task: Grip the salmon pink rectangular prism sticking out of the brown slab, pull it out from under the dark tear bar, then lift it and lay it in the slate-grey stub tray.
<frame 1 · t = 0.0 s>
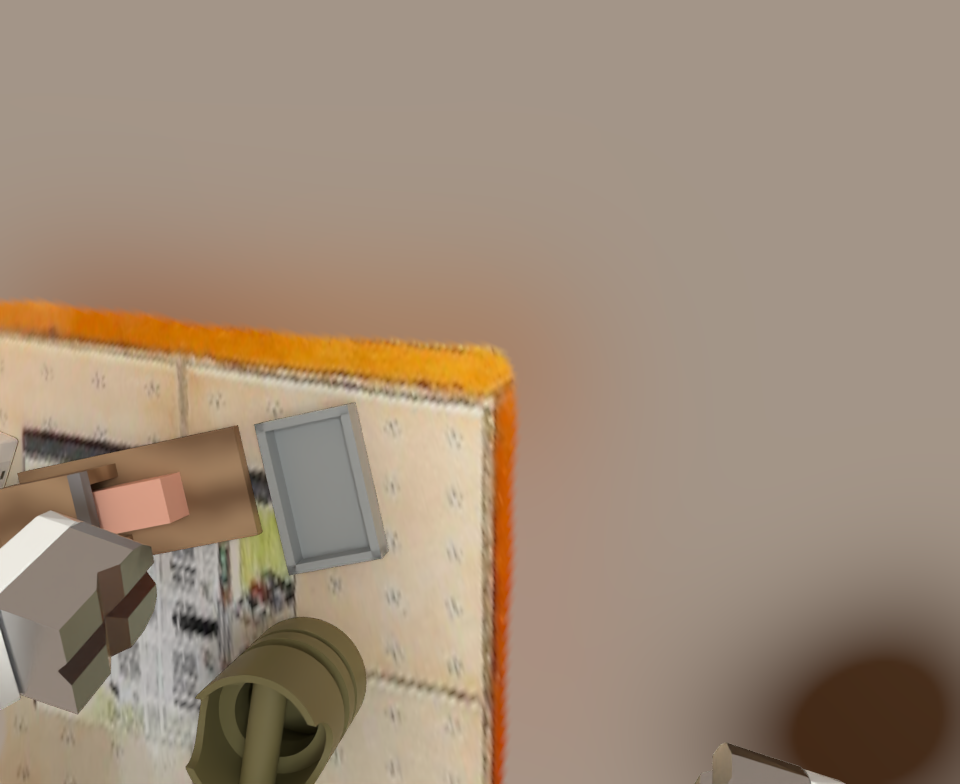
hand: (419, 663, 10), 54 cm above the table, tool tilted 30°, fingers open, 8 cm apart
piston: (307, 676, 69), on the table
salmon pink rectangular prism: (135, 503, 69), point 1 cm above the table, touching brown slab
brown slab: (141, 501, 70), on the table
tray: (326, 485, 67), on the table
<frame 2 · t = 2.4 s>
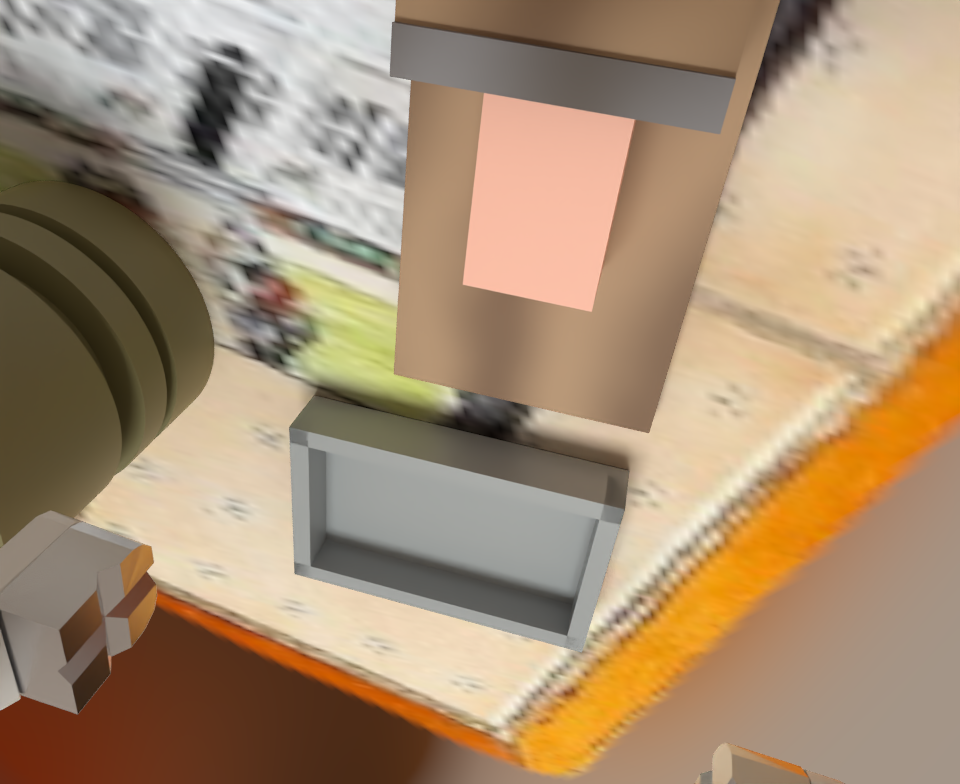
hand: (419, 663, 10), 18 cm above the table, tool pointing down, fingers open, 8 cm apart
piston: (97, 308, 33), on the table
salmon pink rectangular prism: (570, 104, 22), point 1 cm above the table, touching brown slab
brown slab: (574, 97, 23), on the table
tray: (457, 508, 34), on the table
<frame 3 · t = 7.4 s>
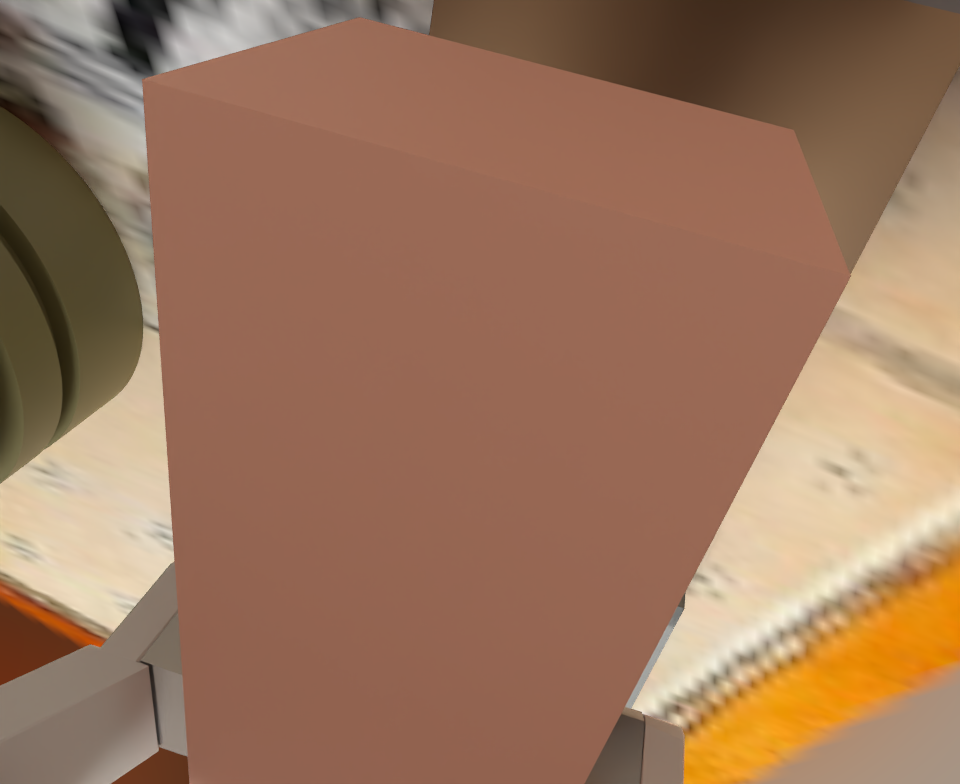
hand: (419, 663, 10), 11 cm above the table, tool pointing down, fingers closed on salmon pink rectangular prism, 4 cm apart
salmon pink rectangular prism: (469, 484, 9), point 10 cm above the table, touching gripper
brown slab: (690, 0, 15), on the table
tray: (448, 568, 25), on the table
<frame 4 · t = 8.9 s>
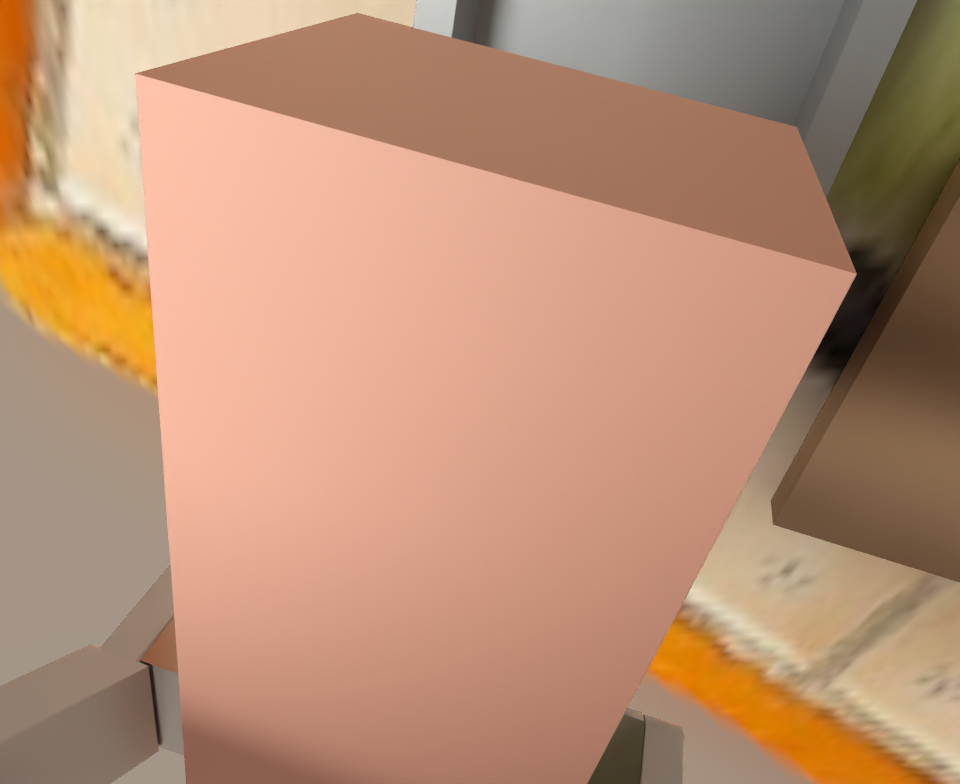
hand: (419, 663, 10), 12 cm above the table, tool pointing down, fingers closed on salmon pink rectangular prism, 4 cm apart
salmon pink rectangular prism: (468, 485, 9), point 11 cm above the table, touching gripper
tray: (596, 204, 18), on the table
when the fingers open (3 cm above the table, at t = 10.0 s): salmon pink rectangular prism drops 2 cm, resting on tray.
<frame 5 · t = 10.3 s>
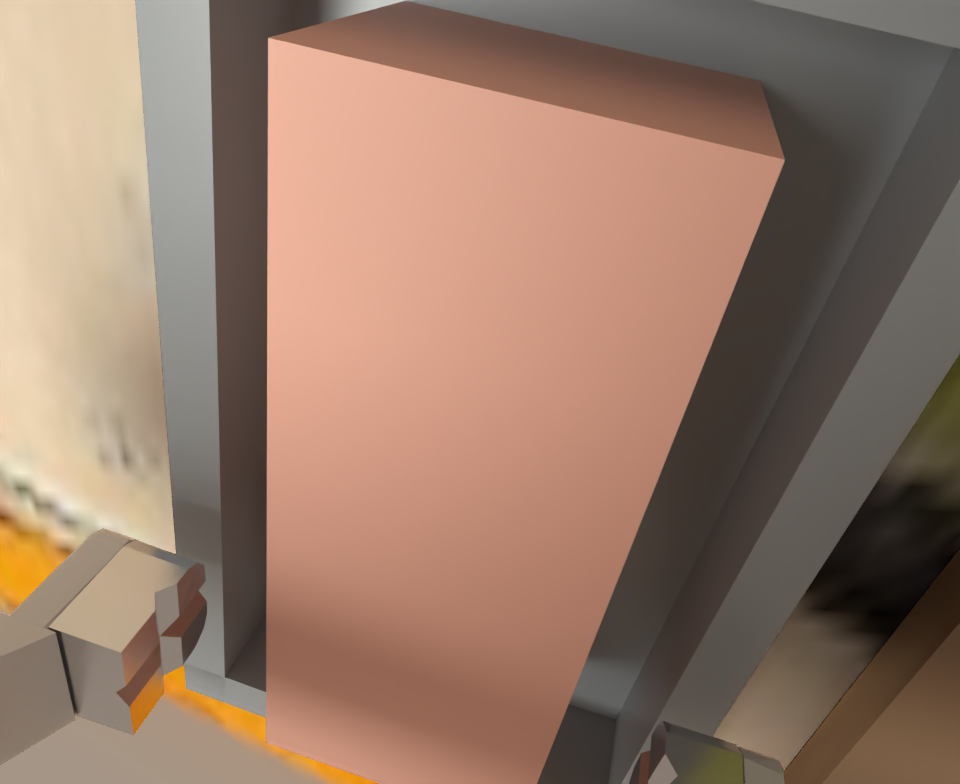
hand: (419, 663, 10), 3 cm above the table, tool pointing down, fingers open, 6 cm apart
salmon pink rectangular prism: (497, 405, 11), point 1 cm above the table, touching tray
tray: (508, 393, 12), on the table
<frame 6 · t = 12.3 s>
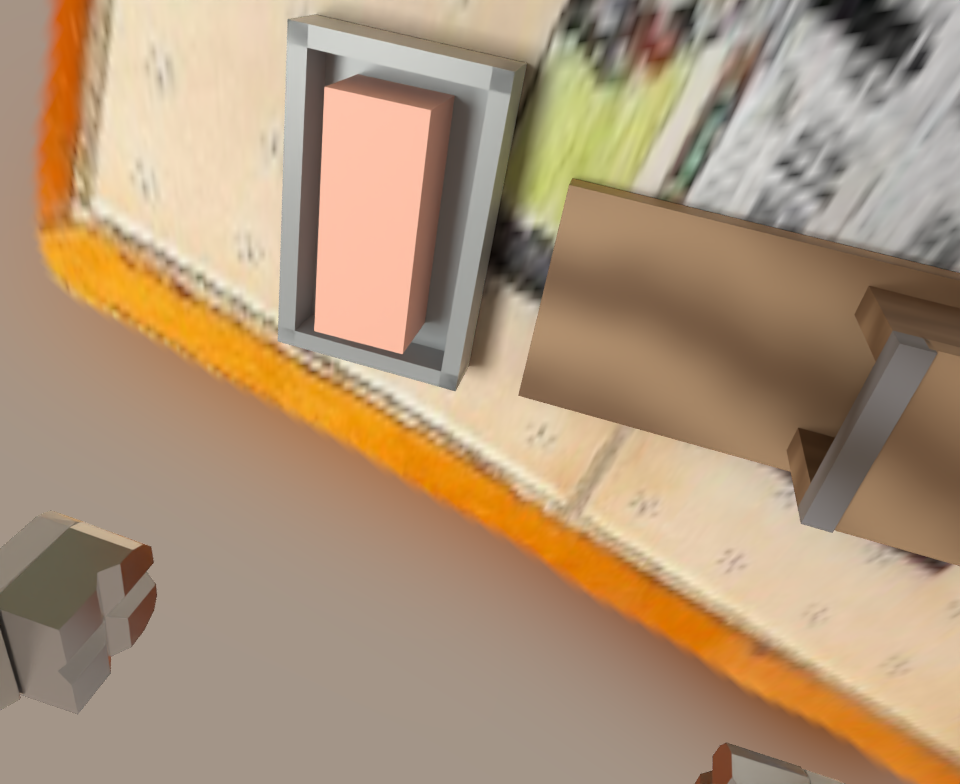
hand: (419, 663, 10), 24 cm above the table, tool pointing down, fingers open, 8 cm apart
salmon pink rectangular prism: (393, 207, 32), point 1 cm above the table, touching tray
brown slab: (797, 356, 32), on the table
tray: (399, 207, 32), on the table
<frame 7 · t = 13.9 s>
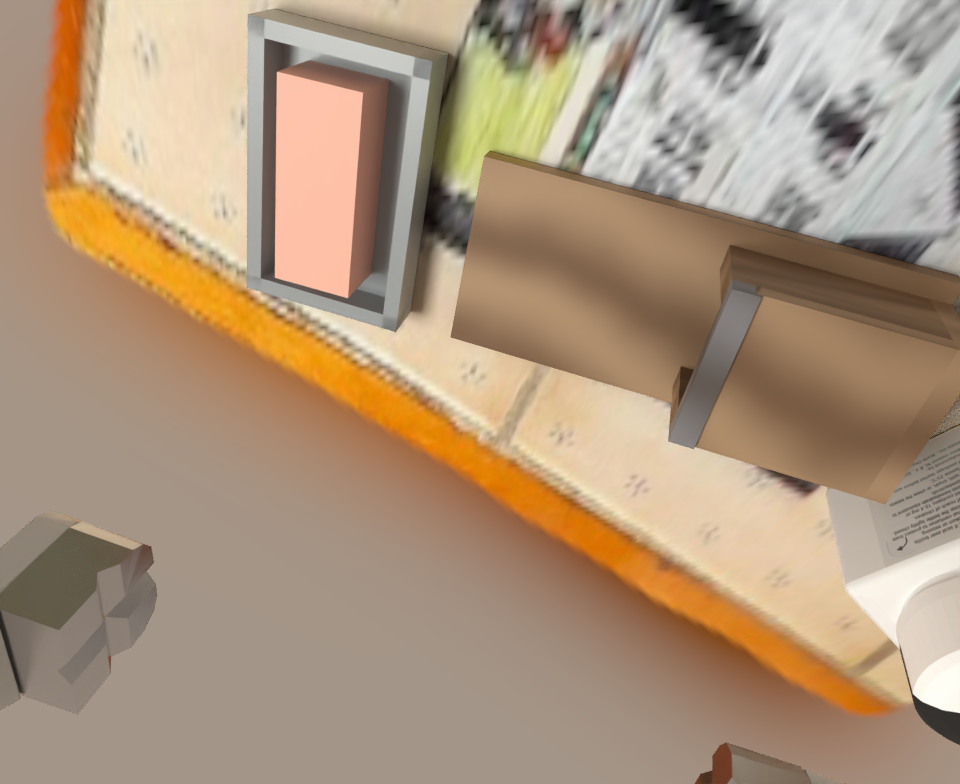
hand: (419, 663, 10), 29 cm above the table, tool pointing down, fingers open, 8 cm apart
salmon pink rectangular prism: (342, 174, 38), point 1 cm above the table, touching tray
brown slab: (680, 305, 37), on the table
tray: (348, 173, 38), on the table
container: (931, 500, 40), on the table
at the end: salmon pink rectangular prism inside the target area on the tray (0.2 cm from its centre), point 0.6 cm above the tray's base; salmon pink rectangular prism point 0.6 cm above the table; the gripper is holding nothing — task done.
